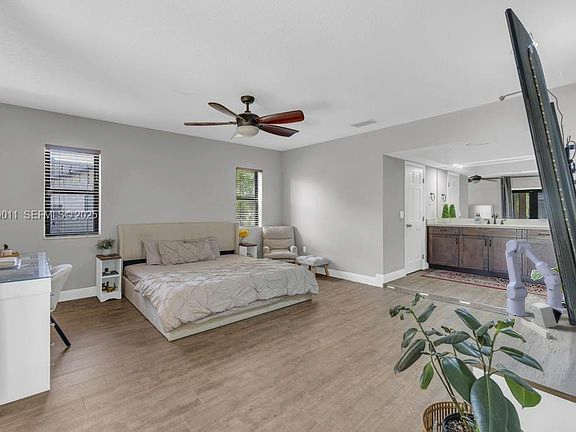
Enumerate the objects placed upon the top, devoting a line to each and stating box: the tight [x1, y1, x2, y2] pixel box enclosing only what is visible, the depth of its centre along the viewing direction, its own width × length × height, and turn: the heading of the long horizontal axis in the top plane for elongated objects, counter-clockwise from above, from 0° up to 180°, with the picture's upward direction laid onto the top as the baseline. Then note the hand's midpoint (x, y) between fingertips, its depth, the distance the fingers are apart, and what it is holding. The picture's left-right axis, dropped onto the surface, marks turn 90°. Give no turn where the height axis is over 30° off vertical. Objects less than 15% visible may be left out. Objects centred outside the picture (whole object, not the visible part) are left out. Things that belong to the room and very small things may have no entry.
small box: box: [530, 301, 558, 329], centre depth 160 cm, size 8×6×10 cm
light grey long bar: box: [519, 316, 551, 339], centre depth 154 cm, size 21×2×3 cm, turn 171°
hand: (554, 323), depth 159 cm, fingers closed
